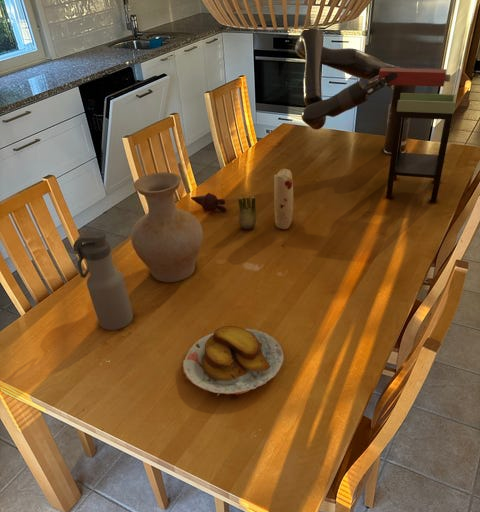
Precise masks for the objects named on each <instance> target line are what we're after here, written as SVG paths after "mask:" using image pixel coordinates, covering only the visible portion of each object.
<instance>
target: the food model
mask: <svg viewBox="0 0 480 512" xmlns="http://www.w3.org/2000/svg"><path fill="white" fill-rule="evenodd" d="M293 182H294V181H293V173H292V171H291V170H290V169H288V168H281V169H280V170H279V171H278V172H277V174H276V173H275V174H274V176H273V194H274V195H273V204H274V221H275V226H276V227H277V229H281V230H287V229H289V228H290V226H291V225H292V222H293V214H294V183H293Z"/></svg>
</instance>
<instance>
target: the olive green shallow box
mask: <svg viewBox="0 0 480 512" xmlns="http://www.w3.org/2000/svg"><path fill="white" fill-rule="evenodd" d="M456 99H457V94H452V93H416V92H415V93H401V94H400V100H398V105H397V111H400V112H425V113H450V114H453V115H454V112H455V107H456Z"/></svg>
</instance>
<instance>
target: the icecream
mask: <svg viewBox="0 0 480 512" xmlns="http://www.w3.org/2000/svg"><path fill="white" fill-rule="evenodd" d="M190 200H191V201H194V202H195V203H196V204H197V205H199V206H200V207H201V208H202V210H203V211H204V212H207V211H208V212H212V211H215V210H218V211H220V212H223V213H225V212H227V211H228V208H226V207H225V206H224V205H225V204H226V199H224V198H218V197H217V196H216V195H215V194H213V193H211V192H207V193H206V194H204V195H198V196H197V195H196V196H191V197H190Z"/></svg>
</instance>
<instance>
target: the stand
mask: <svg viewBox="0 0 480 512" xmlns="http://www.w3.org/2000/svg"><path fill="white" fill-rule="evenodd" d="M453 117H454V113H453V114H450V113H425V112H400V111H397V113H396V121H395V129H394V137H393V145H392V153H391V155H390V161H389V169H388V177H387V186H386V194H385V199H386V200H387V199H388V200H392V198H393V191H394V185H395V184H394V183H395V181H397V179H398V176H400V177H412V178H422V179H423V178H424V179H432V180H433V181H432V182H433V185H432V189H431V190H432V191H431V196H430V201H429V203H433V204H436V203H437V201H438V196H439V195H438V193H439V190H440V184H441V179H442V173H443V168H444V163H445V159H446V154H447V149H448V143H449V138H450V134H451V133H450V132H451V128H452V123H453V122H452V121H453ZM405 118H410V119H421V120H424V119H425V120H444V121H443V127H442V131H441V137H440V142H439V149H438V154H429V153H413V152H405V153H400V151H401V143H402V136H403V129H404V121H405Z"/></svg>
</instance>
